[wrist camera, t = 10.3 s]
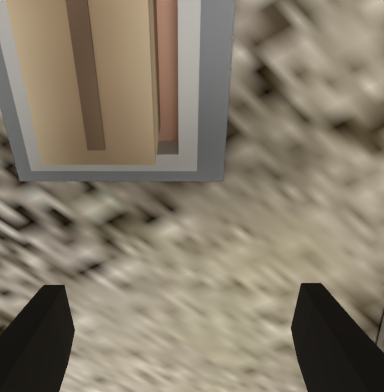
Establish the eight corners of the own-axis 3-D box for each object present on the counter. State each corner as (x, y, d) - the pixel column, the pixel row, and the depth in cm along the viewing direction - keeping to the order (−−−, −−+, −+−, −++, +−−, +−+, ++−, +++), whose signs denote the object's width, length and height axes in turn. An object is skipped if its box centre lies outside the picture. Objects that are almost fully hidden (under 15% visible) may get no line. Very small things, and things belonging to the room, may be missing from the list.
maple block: (153, -102, 12) (142, -130, 9) (160, 124, 17) (154, 166, 13) (33, -105, 12) (-26, -135, 9) (71, 124, 16) (41, 165, 13)
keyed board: (222, 177, 19) (226, 198, 17) (22, 177, 18) (6, 198, 17) (248, -223, 11) (260, -257, 10) (-83, -233, 11) (-132, -270, 9)
